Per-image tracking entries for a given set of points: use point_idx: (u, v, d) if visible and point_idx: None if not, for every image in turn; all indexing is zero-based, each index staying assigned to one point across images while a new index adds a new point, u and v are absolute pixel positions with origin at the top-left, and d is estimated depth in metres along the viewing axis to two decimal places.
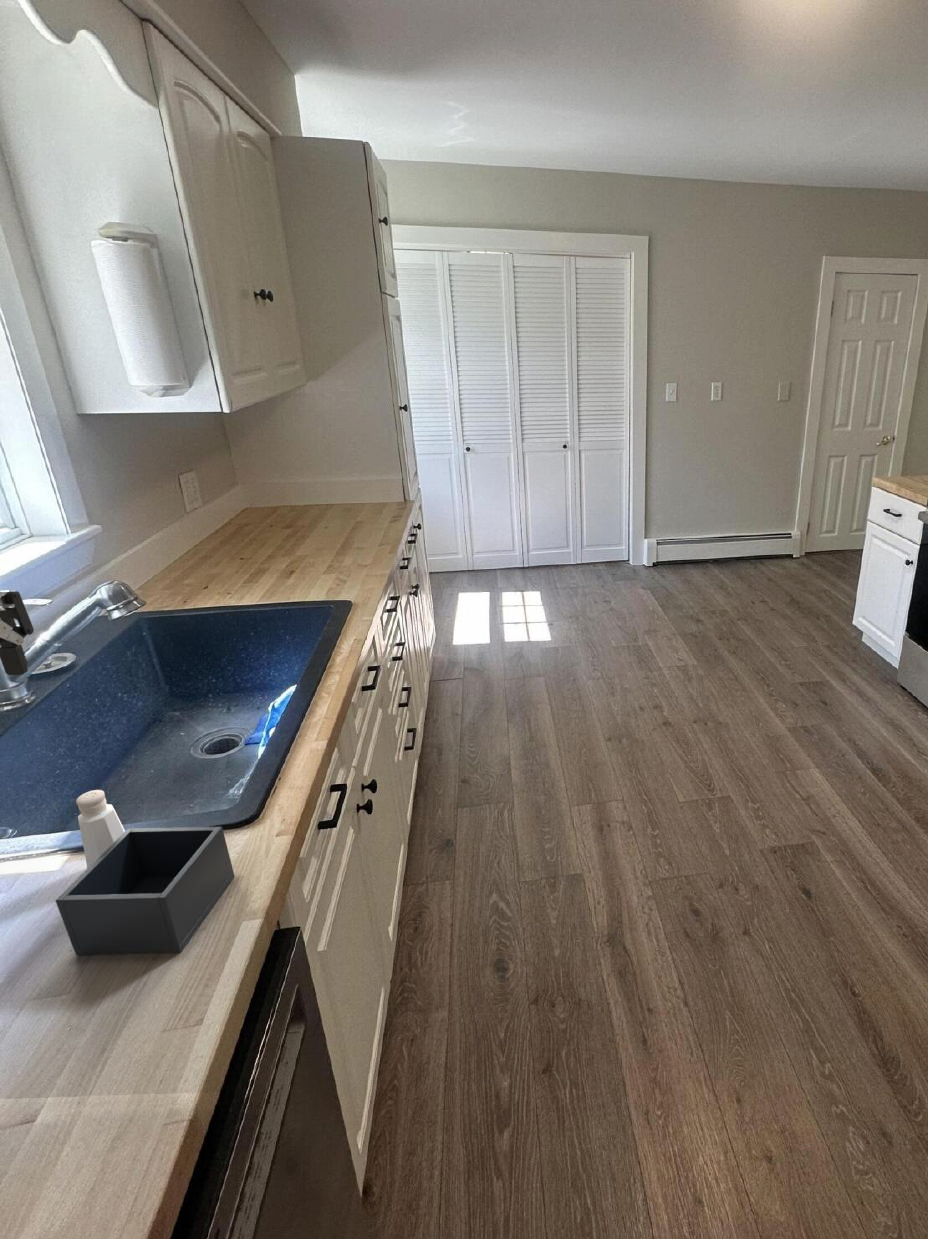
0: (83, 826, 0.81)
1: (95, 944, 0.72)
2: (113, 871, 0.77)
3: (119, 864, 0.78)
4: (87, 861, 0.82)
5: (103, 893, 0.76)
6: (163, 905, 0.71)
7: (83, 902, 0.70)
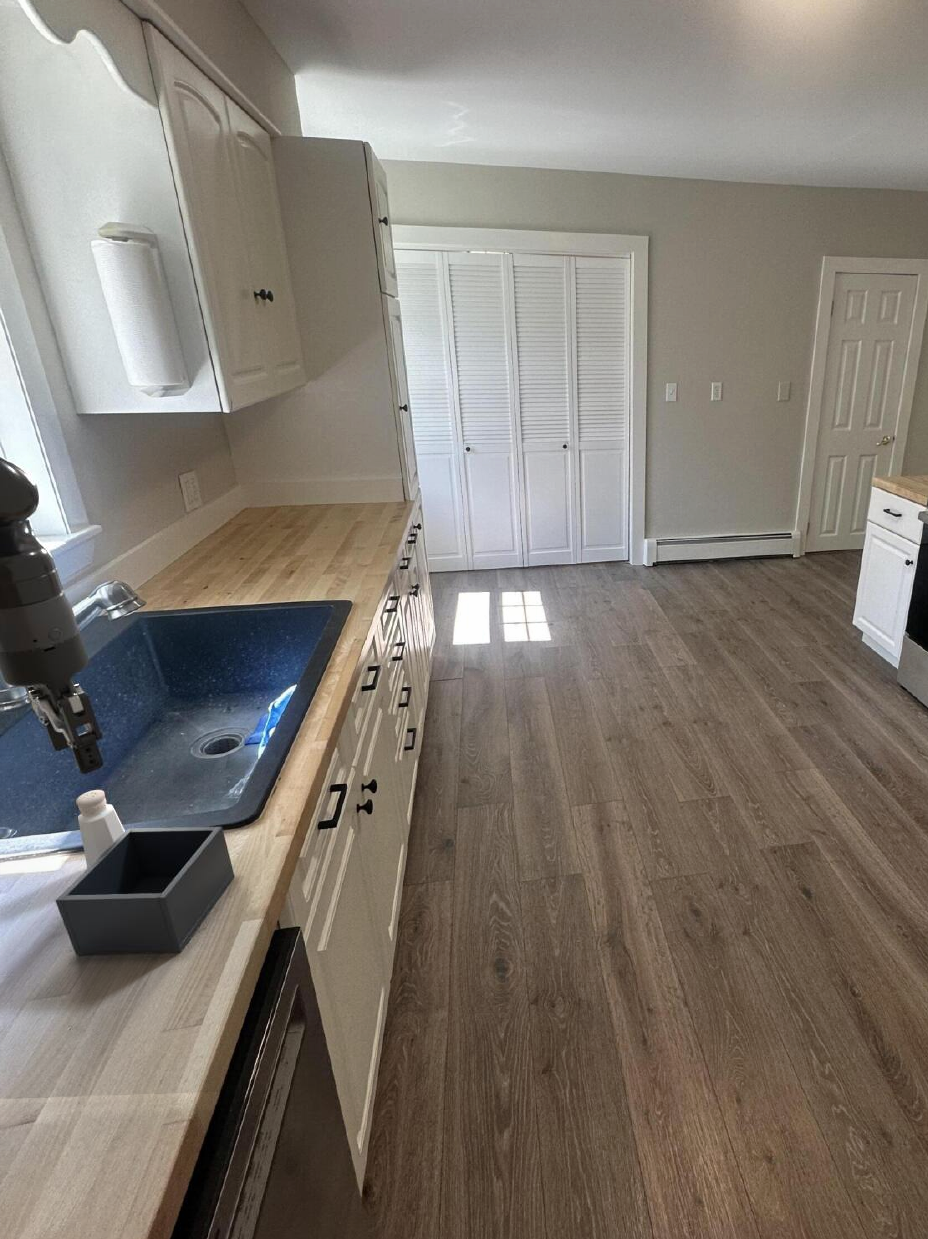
0: (83, 826, 0.81)
1: (95, 944, 0.72)
2: (113, 871, 0.77)
3: (119, 864, 0.78)
4: (87, 861, 0.82)
5: (103, 893, 0.76)
6: (163, 905, 0.71)
7: (83, 902, 0.70)
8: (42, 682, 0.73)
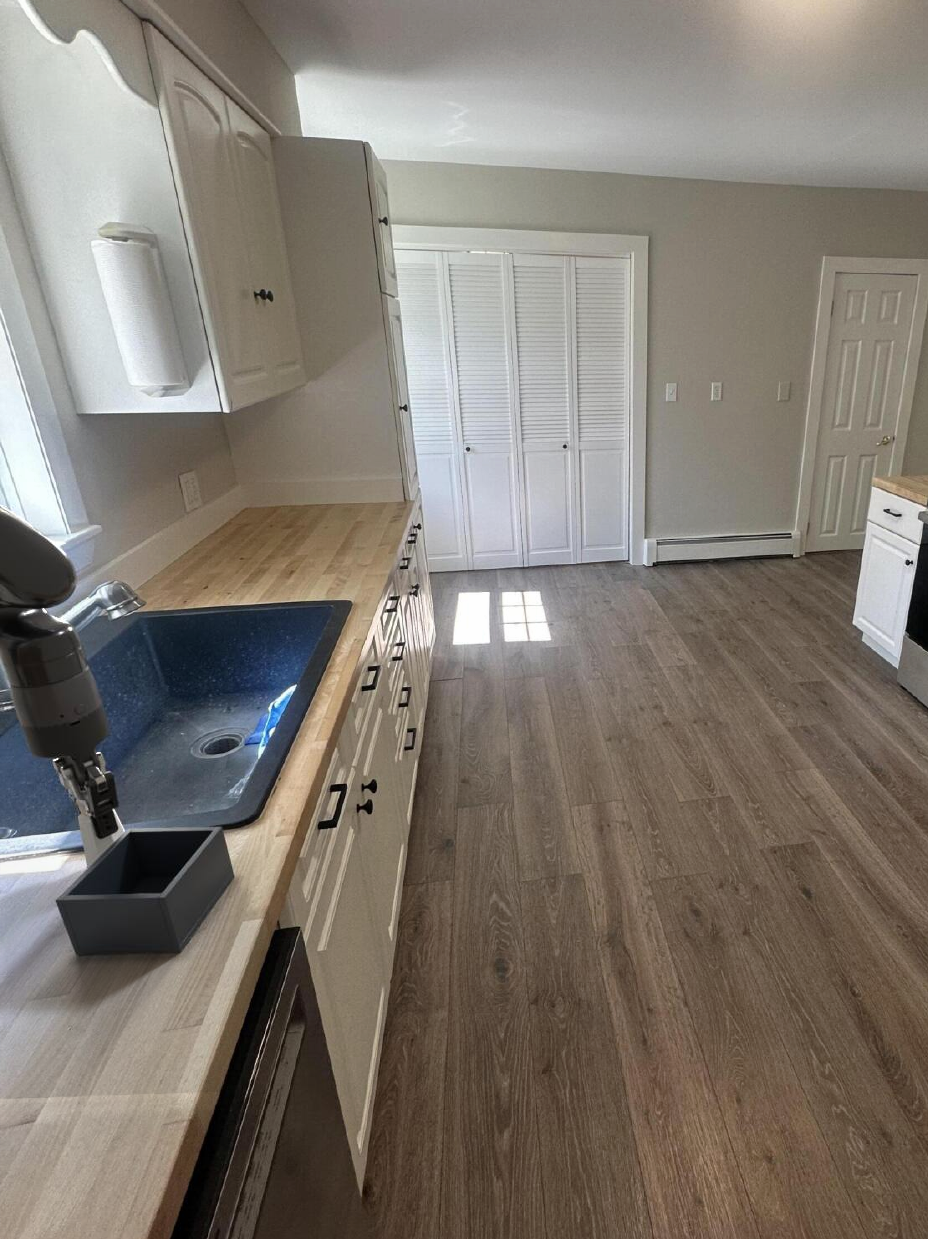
0: (83, 826, 0.81)
1: (95, 944, 0.72)
2: (113, 871, 0.77)
3: (119, 864, 0.78)
4: (87, 861, 0.82)
5: (103, 893, 0.76)
6: (163, 905, 0.71)
7: (83, 902, 0.70)
8: (67, 754, 0.76)
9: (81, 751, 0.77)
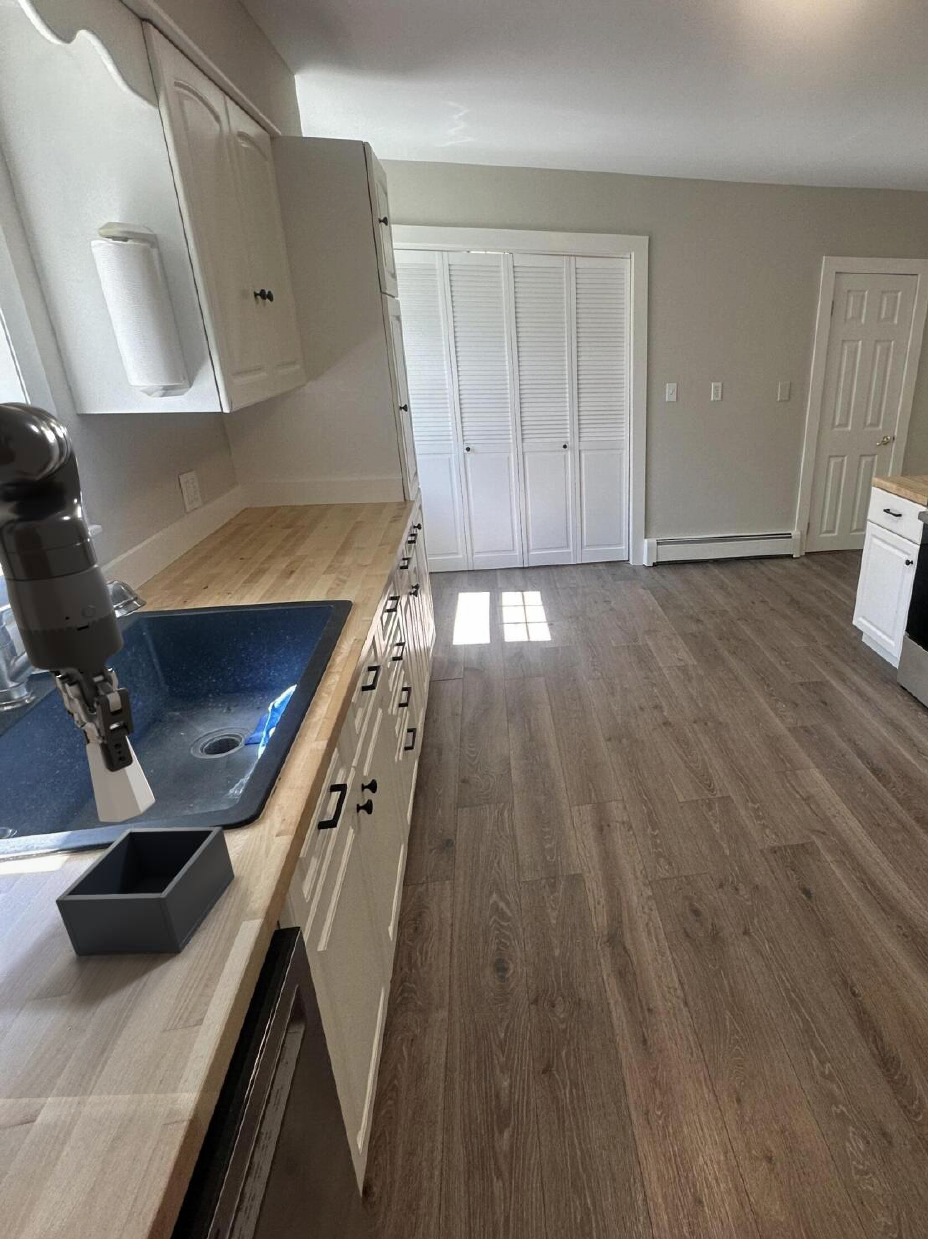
0: (92, 756, 0.69)
1: (95, 944, 0.72)
2: (113, 871, 0.77)
3: (119, 864, 0.78)
4: (97, 799, 0.70)
5: (103, 893, 0.76)
6: (163, 905, 0.71)
7: (83, 902, 0.70)
8: (74, 665, 0.64)
9: (90, 663, 0.64)
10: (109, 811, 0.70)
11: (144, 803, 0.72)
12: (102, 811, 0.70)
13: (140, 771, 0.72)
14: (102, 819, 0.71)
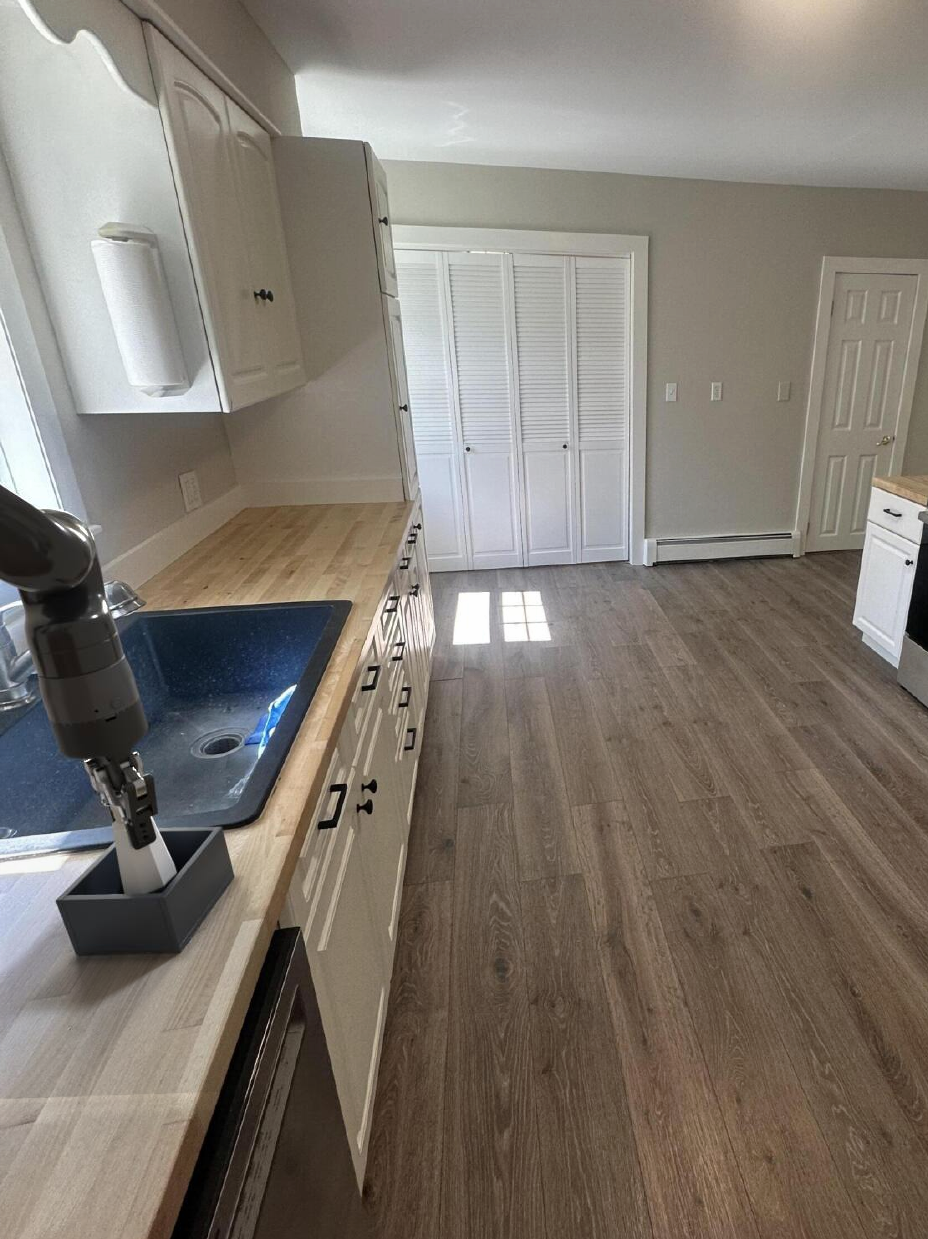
0: (118, 835, 0.72)
1: (95, 944, 0.72)
2: (113, 871, 0.77)
3: None
4: (122, 874, 0.73)
5: (103, 893, 0.76)
6: (163, 905, 0.71)
7: (83, 902, 0.70)
8: (102, 754, 0.67)
9: (117, 751, 0.68)
10: (134, 886, 0.74)
11: (166, 876, 0.76)
12: (127, 886, 0.74)
13: (163, 845, 0.75)
14: (127, 893, 0.74)
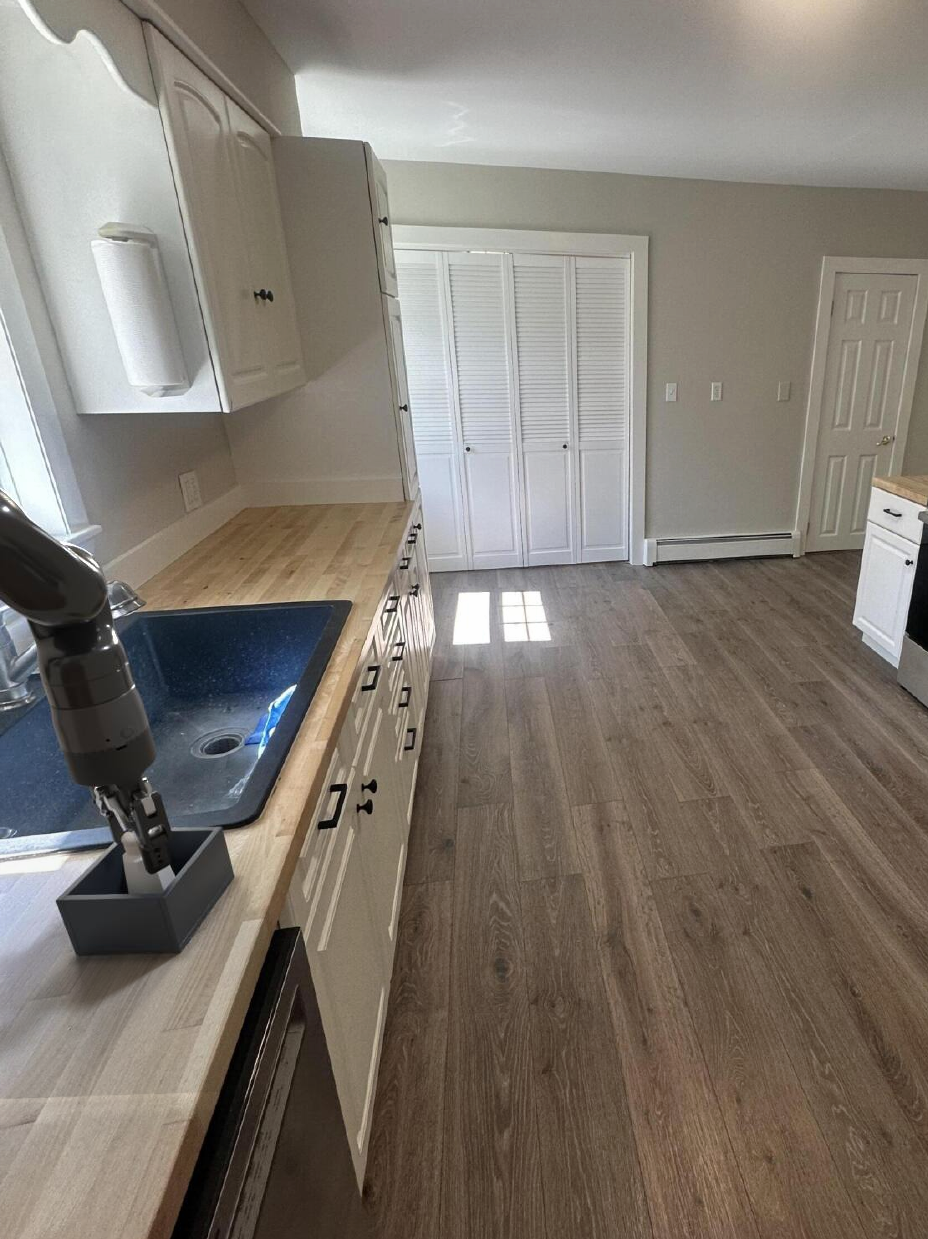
0: (129, 866, 0.73)
1: (95, 944, 0.72)
2: (113, 871, 0.77)
3: (119, 864, 0.78)
4: None
5: (103, 893, 0.76)
6: (163, 905, 0.71)
7: (83, 902, 0.70)
8: (113, 782, 0.68)
9: (127, 778, 0.69)
10: None
11: None
12: None
13: (172, 876, 0.77)
14: None
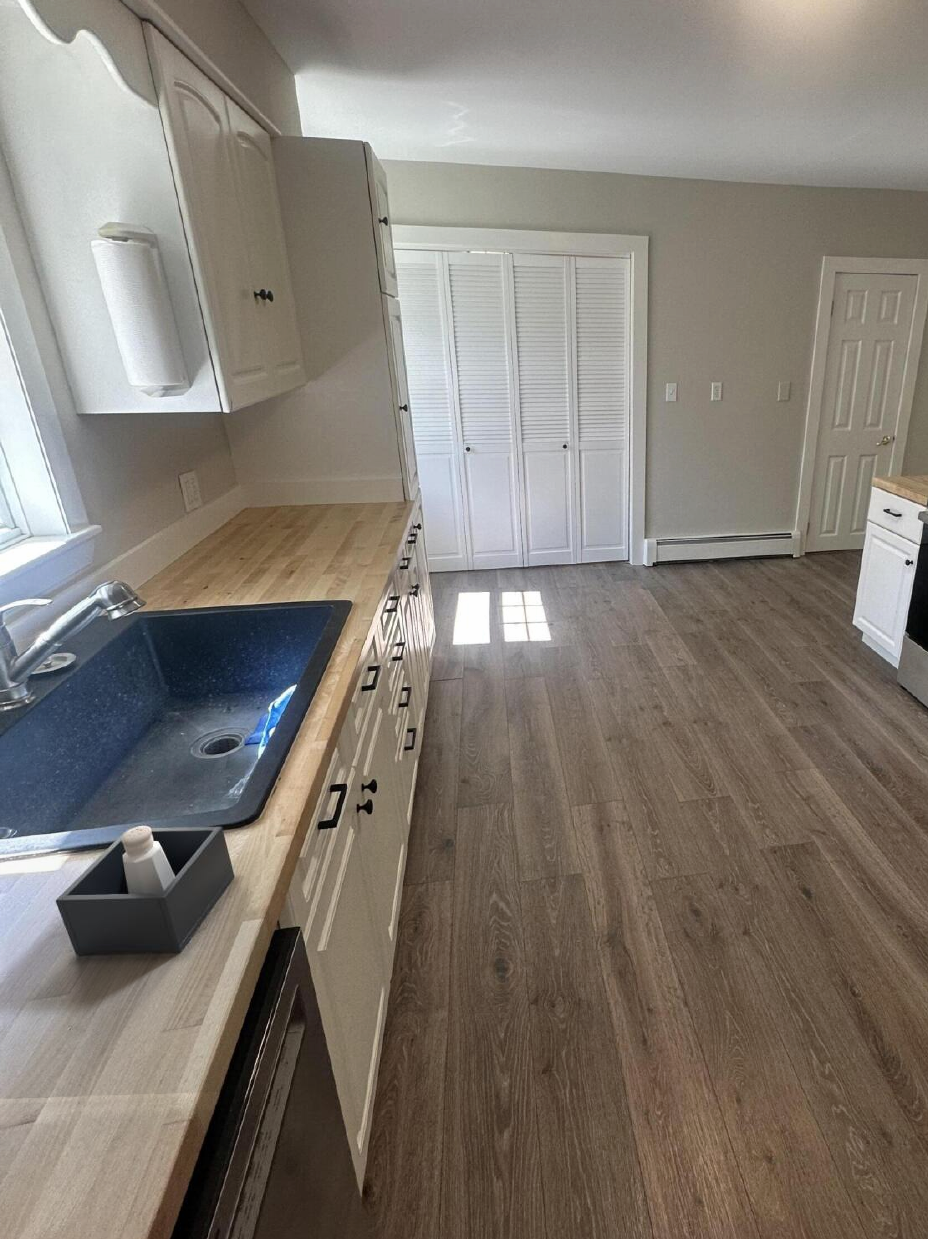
0: (129, 867, 0.73)
1: (95, 944, 0.72)
2: (113, 871, 0.77)
3: (119, 864, 0.78)
4: None
5: (103, 893, 0.76)
6: (163, 905, 0.71)
7: (83, 902, 0.70)
8: None
9: None
10: None
11: None
12: None
13: (172, 876, 0.77)
14: None
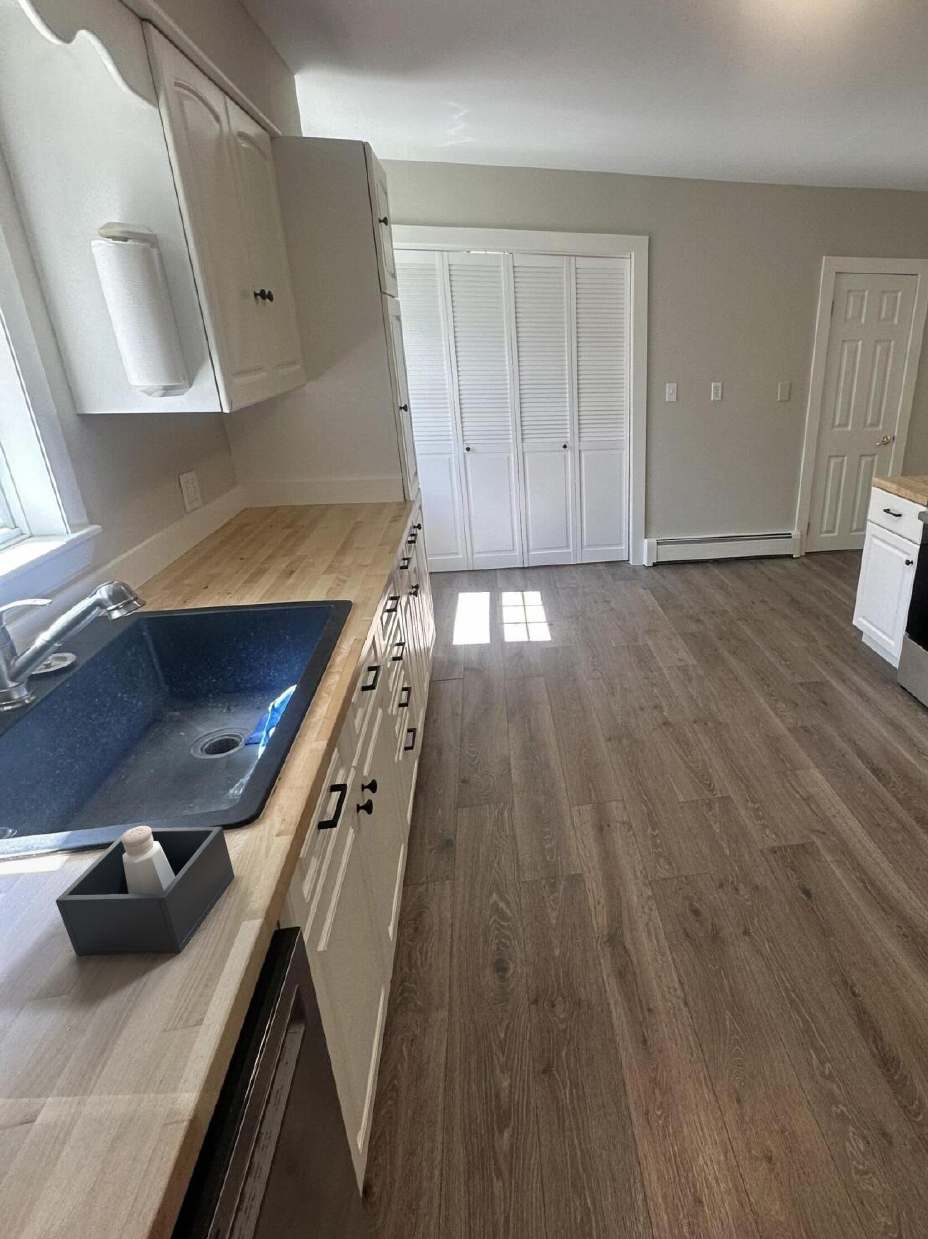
0: (129, 867, 0.73)
1: (95, 944, 0.72)
2: (113, 871, 0.77)
3: (119, 864, 0.78)
4: None
5: (103, 893, 0.76)
6: (163, 905, 0.71)
7: (83, 902, 0.70)
8: None
9: None
10: None
11: None
12: None
13: (172, 876, 0.77)
14: None
